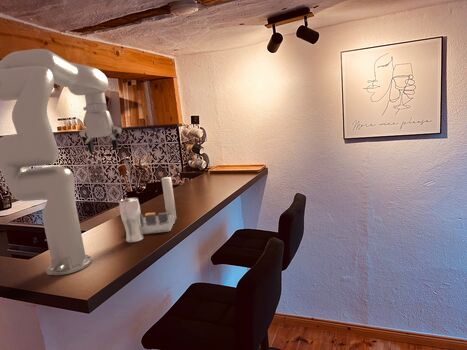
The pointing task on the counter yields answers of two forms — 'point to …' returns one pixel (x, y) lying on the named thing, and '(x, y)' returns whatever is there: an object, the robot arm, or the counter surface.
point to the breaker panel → (157, 225)
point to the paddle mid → (150, 217)
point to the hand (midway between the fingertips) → (103, 151)
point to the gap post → (168, 196)
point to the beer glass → (131, 219)
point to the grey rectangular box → (163, 216)
